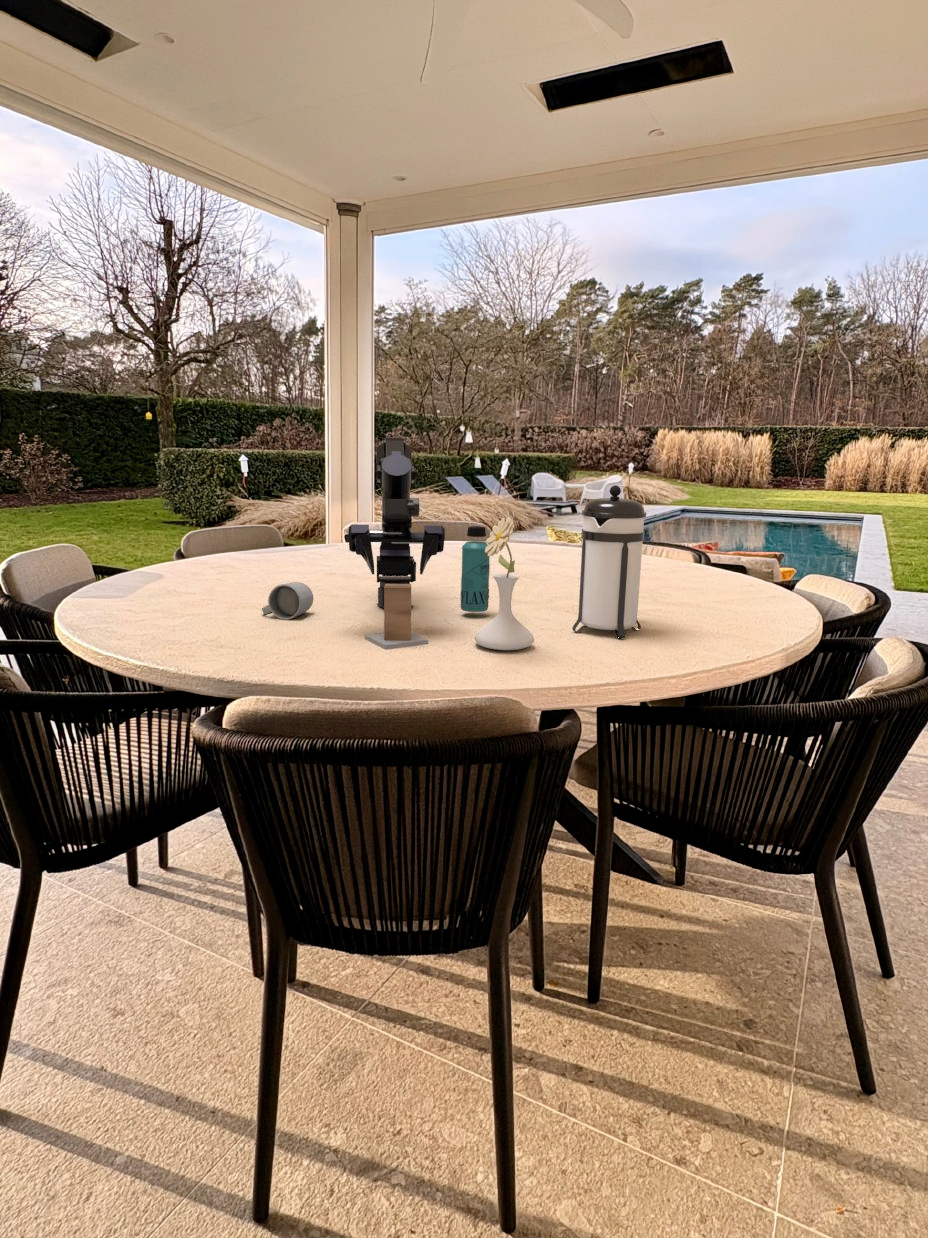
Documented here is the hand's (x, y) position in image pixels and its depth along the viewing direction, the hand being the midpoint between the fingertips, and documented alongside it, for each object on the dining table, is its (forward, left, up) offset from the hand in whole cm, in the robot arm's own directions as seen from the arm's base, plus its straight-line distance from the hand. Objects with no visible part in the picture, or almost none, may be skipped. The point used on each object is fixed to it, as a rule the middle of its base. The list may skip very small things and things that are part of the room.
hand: (397, 573), depth 149 cm
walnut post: (+1, +2, -12) cm, 12 cm away
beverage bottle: (-25, -12, -13) cm, 31 cm away
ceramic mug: (+12, -30, -13) cm, 35 cm away
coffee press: (-43, +12, -13) cm, 47 cm away
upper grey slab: (+1, +2, -13) cm, 13 cm away
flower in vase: (-15, +15, -13) cm, 25 cm away
